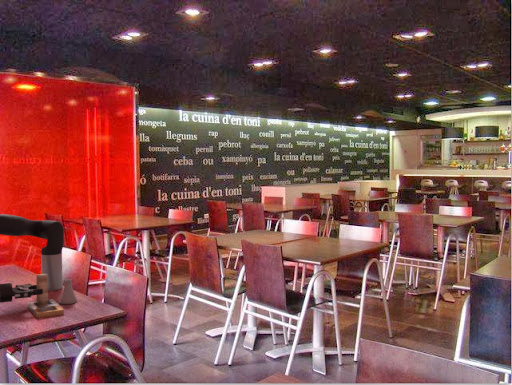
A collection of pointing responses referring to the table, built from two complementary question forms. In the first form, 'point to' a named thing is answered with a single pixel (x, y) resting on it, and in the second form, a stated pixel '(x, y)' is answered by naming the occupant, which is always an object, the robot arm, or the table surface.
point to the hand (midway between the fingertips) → (42, 289)
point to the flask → (68, 293)
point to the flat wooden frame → (45, 309)
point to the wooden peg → (42, 284)
